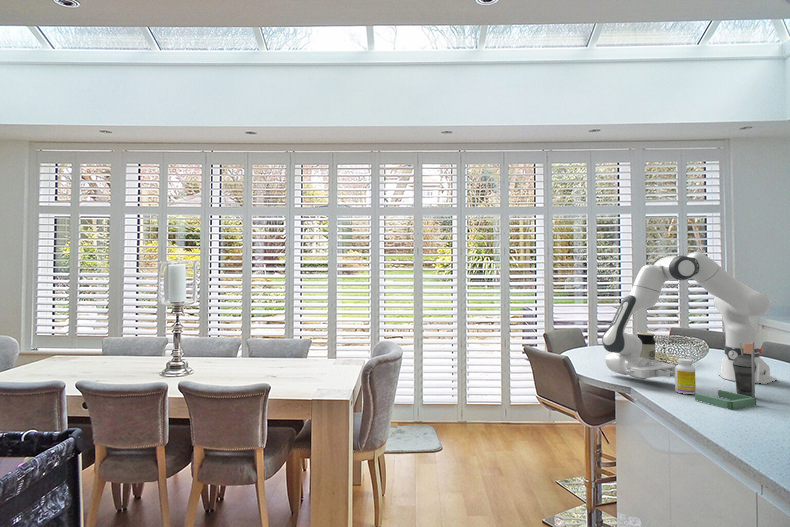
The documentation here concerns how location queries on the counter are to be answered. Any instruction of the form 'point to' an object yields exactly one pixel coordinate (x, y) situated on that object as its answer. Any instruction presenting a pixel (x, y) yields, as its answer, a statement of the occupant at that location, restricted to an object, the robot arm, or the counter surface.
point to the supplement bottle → (685, 377)
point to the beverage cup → (743, 374)
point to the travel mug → (647, 345)
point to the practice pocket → (737, 399)
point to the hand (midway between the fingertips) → (671, 374)
